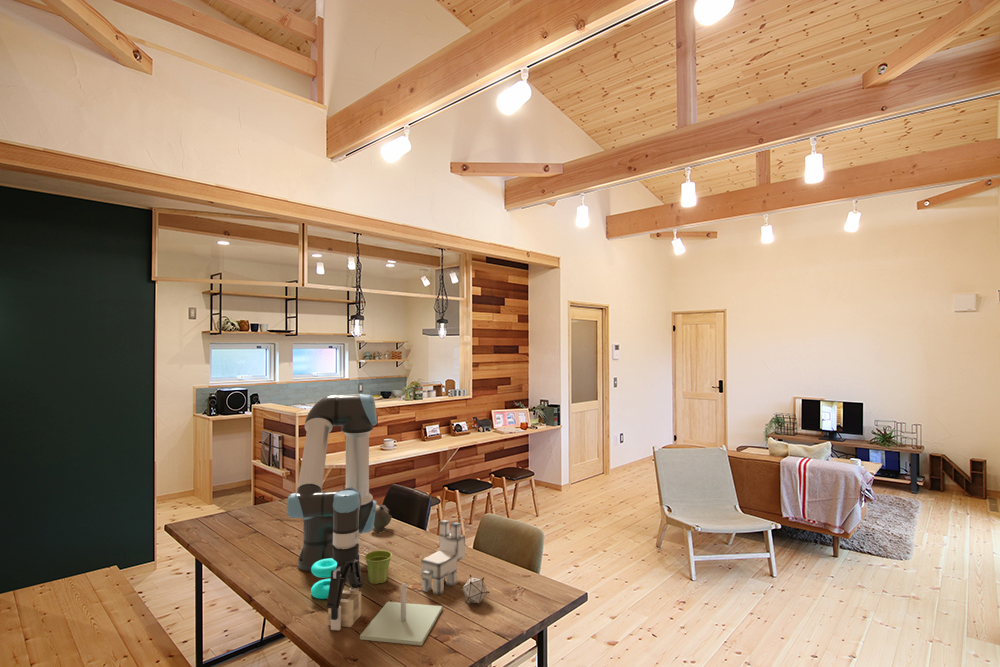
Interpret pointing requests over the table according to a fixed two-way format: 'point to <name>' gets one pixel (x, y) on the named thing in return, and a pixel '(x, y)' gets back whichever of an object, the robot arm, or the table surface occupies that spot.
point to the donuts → (323, 571)
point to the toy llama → (443, 559)
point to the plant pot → (378, 565)
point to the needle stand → (402, 622)
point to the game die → (474, 590)
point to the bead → (348, 608)
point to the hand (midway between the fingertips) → (344, 619)
